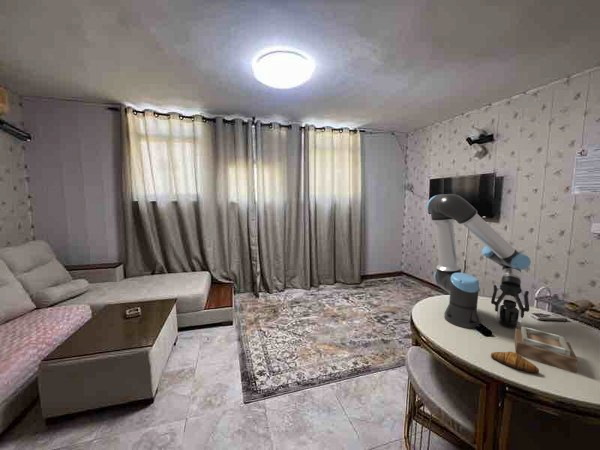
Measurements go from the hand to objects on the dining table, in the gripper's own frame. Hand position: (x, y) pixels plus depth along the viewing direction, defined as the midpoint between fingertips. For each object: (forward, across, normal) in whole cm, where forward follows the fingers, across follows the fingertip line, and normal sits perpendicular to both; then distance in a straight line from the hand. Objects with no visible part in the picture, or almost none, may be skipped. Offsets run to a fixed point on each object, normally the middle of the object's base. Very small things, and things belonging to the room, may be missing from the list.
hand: (508, 320), depth 115 cm
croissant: (+26, -1, +20) cm, 33 cm away
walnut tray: (+15, -10, +9) cm, 20 cm away
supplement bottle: (0, 0, -5) cm, 5 cm away
